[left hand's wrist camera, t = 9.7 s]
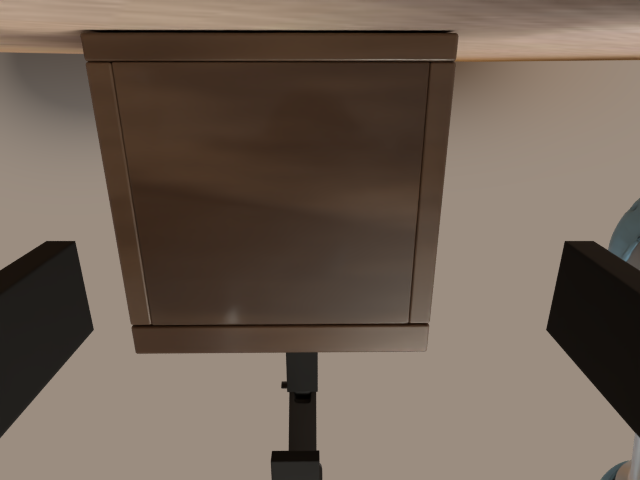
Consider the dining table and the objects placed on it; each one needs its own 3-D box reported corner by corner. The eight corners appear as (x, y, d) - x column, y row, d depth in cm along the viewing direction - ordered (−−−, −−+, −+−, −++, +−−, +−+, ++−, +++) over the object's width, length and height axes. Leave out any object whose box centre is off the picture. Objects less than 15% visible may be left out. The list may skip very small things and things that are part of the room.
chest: (379, 51, 26) (372, 198, 29) (208, 51, 26) (220, 198, 29) (459, 32, 12) (430, 323, 15) (78, 32, 11) (130, 325, 15)
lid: (371, 196, 29) (367, 309, 32) (222, 197, 29) (231, 310, 32) (430, 325, 15) (411, 508, 18) (130, 327, 15) (162, 511, 18)
